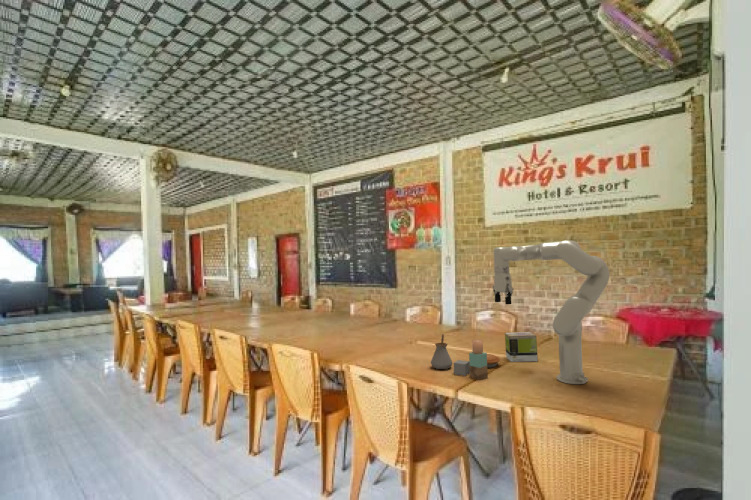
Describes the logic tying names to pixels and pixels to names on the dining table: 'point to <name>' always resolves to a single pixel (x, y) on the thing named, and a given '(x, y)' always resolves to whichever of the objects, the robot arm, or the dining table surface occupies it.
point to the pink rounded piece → (477, 346)
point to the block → (461, 367)
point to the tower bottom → (478, 372)
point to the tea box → (521, 346)
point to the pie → (492, 360)
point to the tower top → (478, 360)
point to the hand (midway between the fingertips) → (503, 303)
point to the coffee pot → (441, 356)
